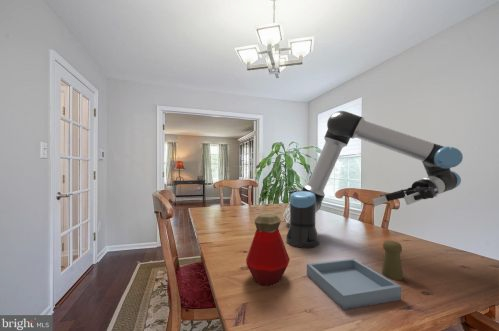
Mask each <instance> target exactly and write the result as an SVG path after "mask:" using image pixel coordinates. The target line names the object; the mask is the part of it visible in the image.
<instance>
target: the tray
mask: <svg viewBox="0 0 499 331" xmlns="http://www.w3.org/2000/svg"><path fill="white" fill-rule="evenodd" d="M306 275H307V276H308V277H309V278H310V279H311V280H312V281H313V282H314V284H316V285H317V286H318V287H319V288H320V289H321V290H322V291H323V292H324V293H325V294H326V295H328V296H329V298H330V299H331V300H333V301H334V303H336V305H338V306H339V307H340V308H341V309H342V310H343V311H346V310H350V309H349V308H352V309H358V308H362V306H363V307H367V306H368V305H369V306H372V305H373V304H374V305H378V304H379V303H380V304H384V303H388V302H389V303H390V302H391V303H392V302H395V301H396V302H397V301H401V300H402V286H401V285H399V284H398V283H396V282H394V281H393V280H392V279H390V278H387V277H385V276H384V275H382V273H379V272H377V271H375V270H374V269H372V268H370V267H368V266H367V265H365V264H363V263H362V262H360V261H359V260H357V259H355V258H346V259H345V258H344V259H338V260H337V259H336V260H329V261H320V262H310V263H306ZM380 304H379V305H380ZM374 305H373V306H374ZM355 307H356V308H355ZM345 309H346V310H345Z"/></svg>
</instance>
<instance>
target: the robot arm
mask: <svg viewBox="0 0 499 331" xmlns="http://www.w3.org/2000/svg"><path fill="white" fill-rule="evenodd" d="M326 123H327V124H326V127H327V130H326V132H325V135H324V137H323V138H324V141H325V142H324V145H323V147H322V149H321V151H320V154H319V157H318V158H317V161H316V164H315V166H314V167H313V170H312V172H311V175H310V178H309V179H308V180H309V181H308V182H307V184H304V185H303V187H302V189H301V191H300V190H298V191H295V192H291V194H290V197H289V203H290V204H289V227H288V231H287V233H286V236H285V237H286V239H285V240H286V243H287V244H288V245H290V246H293V247H297V248H303V249H311V248H317V247H318V246H319V245H320V237H319V235H318V231H317V228H316V214H317V212H318V211H320V209H321V208H322V203H323V200H324V198H325V196H326V195H325V192H324V191H325V188H326V186H327V183H328V181H329V180H330V178H331V174H332V173H333V170H334V168H335V165H336V164H337V161H338V158H339V156H340V154H341V151H342V149H344V147H347V146H348V145H349V142H350V139H356V138H357V139H359V140H363V141H364V142H368V143H371V144H374V145H377V146H379V147H381V148H384V149H387V150H390V151H393V152H396V153H398V154H401V155H403V156H406V157H407V156H408V157H410V158H413V159H415V160H417V161H420V162H422V165H423V167H424V170H425V172H426V175H427V177H424V178H422V179H418V180H417V181H414V182H413V183H412V185H411V186H409V187H408V188H405V189H400V190H396V191H393V192H390V193H385V194H381V195H379V196H378V197H376V198H373V199H371V201H372V204H373V207H378V206H380V205H381V206H382V205H383V204H387V203H388V202H390V201H396V200H400V199H404V201H405V203H406V206H407V205H412V204H414V203H417V202H420V201H422V200H428V199H433V198H436V197H438V195H440V194H442V193H445V192H448V191H452V190H454V189H455V188H457V187H459V186H460V185H461V182H462V178H461V176H460V175H459V173H456V172H455V171H453V170H451V168H455V167H458V166H459V165H461V163H463V162H462V161H463V158H464V156H463V153H462V152H461V150H460V149H458V148H457V147H453V146H443V145H441V144H437V143H433V142H431V141H428V140H425V139H422V138H419V137H415V136H412V135H410V134H406V133H404V132H401V131H398V130H394V129H391V128H389V127H385V126H383V125H379V124H376V123H373V122H370V121H366V120H365V119H364V117H363V116H360V115H356V114H355V113H351V112H349V111H346V110H345V111H344V110H339V111H336V112H333V113H332V114H331V115H330V116H329V118H328V119H327V122H326Z"/></svg>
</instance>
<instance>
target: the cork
mask: <svg viewBox="0 0 499 331" xmlns="http://www.w3.org/2000/svg"><path fill="white" fill-rule="evenodd" d="M402 246H403V245H402V244H401V243H399V242H398V241H394V240H385V241H384V242H383V244H382V247H383V250H384V255H383V261H382V262H383V263H382V266H381V267H382V268H381V275H382V276H384V277H386V278H388V279H389V280H396V281H402V280H404V271H403V266H402V265H403V264H402V259H401V253H402V250H403V247H402Z"/></svg>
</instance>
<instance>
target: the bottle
mask: <svg viewBox="0 0 499 331" xmlns="http://www.w3.org/2000/svg"><path fill="white" fill-rule="evenodd" d="M253 221H254V225H255V228H256V230H255V233H254V236H253V239H252V242H251V244H250V247H249V250H248V252H247V254H246V255H247V256H246V259H245V262H246V266H247V268H248V271H249V272H250V274H251V277H252V278H253V280H254V282H255V283H257V284H259V285H260V286H266V287H272V286H275V285H277V284H278V283H280V281H281V280H282V278H283V276H284V274H285V271H286V270H287V268H288V266H289V264H290V260H291V259H290V257H289V254H288V252H287V249H286V248H287V247H286V246H285V243H284V240H283V238H282V236H281V232H280V230H279V228H280V224H281V222H282V220H281V218H280V217H279V216H278V215H277V214H276V213H273V212H263V214H262V213H260V214H258V215H257V217H256V218H254V219H253Z"/></svg>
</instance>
